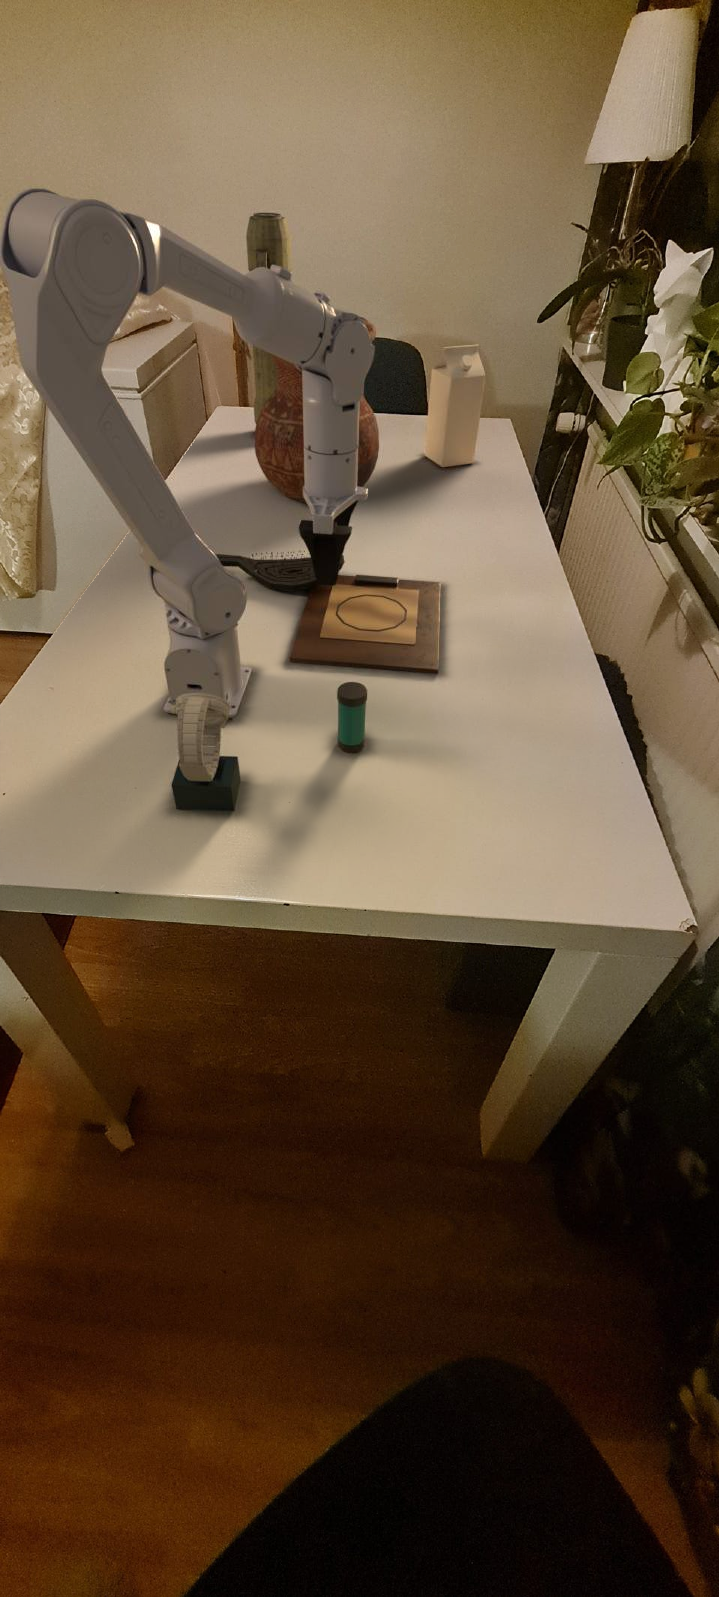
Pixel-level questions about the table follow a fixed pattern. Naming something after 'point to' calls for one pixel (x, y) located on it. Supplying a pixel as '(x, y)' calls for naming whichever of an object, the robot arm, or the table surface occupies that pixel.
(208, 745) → the watch
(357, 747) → the dot marker
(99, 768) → the table surface
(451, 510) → the table surface
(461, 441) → the milk carton
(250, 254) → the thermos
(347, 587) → the clipboard
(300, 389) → the jug
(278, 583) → the hairbrush
